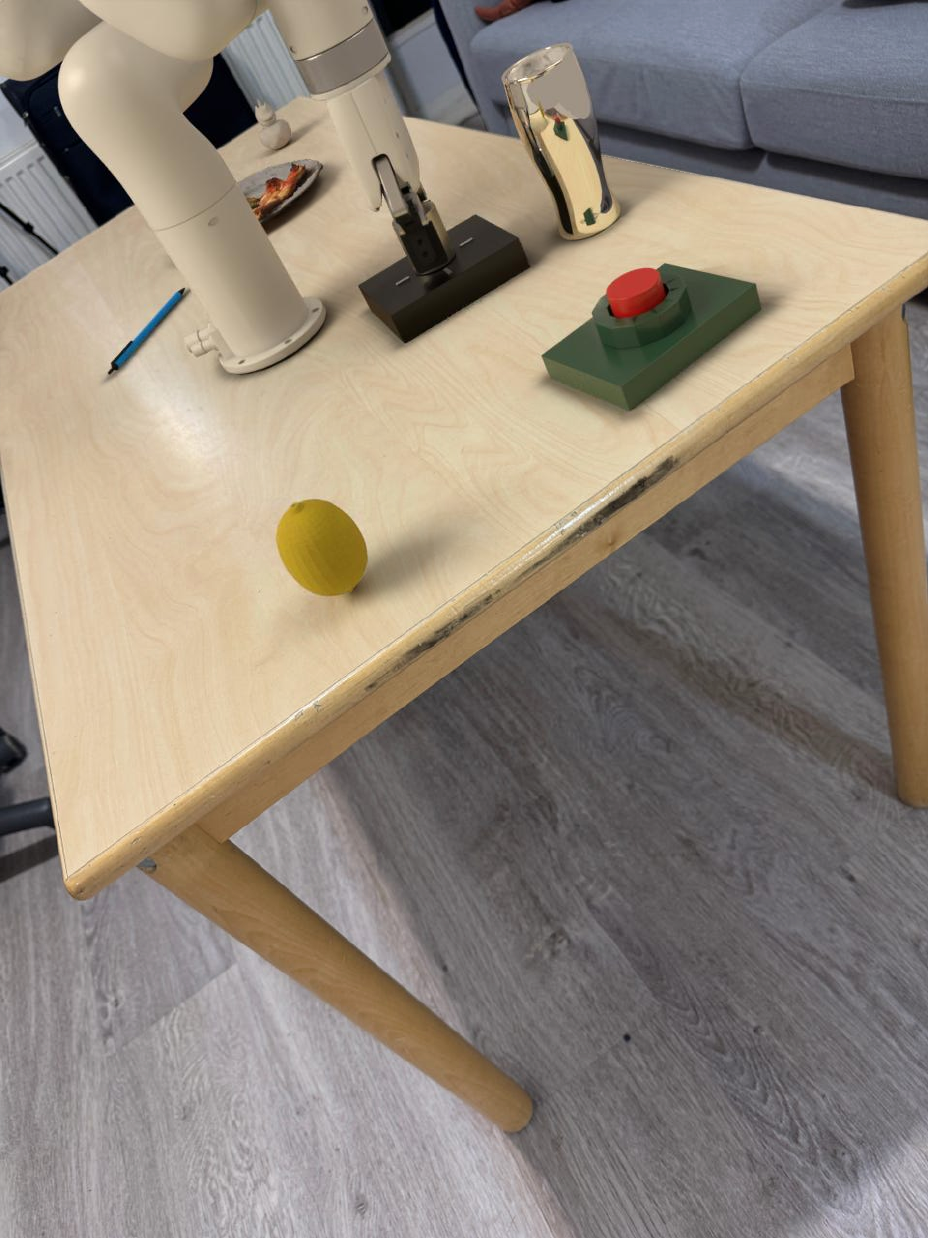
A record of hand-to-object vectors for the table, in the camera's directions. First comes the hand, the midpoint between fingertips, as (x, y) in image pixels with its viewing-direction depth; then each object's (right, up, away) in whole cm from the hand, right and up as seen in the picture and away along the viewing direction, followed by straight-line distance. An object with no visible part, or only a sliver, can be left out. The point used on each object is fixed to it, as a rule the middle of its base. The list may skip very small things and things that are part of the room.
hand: (432, 254), depth 94 cm
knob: (0, -1, 0) cm, 1 cm away
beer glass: (+15, +3, 0) cm, 15 cm away
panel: (+1, -3, +2) cm, 4 cm away
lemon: (-5, -33, -26) cm, 42 cm away
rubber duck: (-27, +44, +69) cm, 86 cm away
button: (+16, -12, -22) cm, 30 cm away
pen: (-37, +1, +30) cm, 47 cm away
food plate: (-28, +23, +48) cm, 60 cm away
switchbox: (+17, -14, -20) cm, 30 cm away
